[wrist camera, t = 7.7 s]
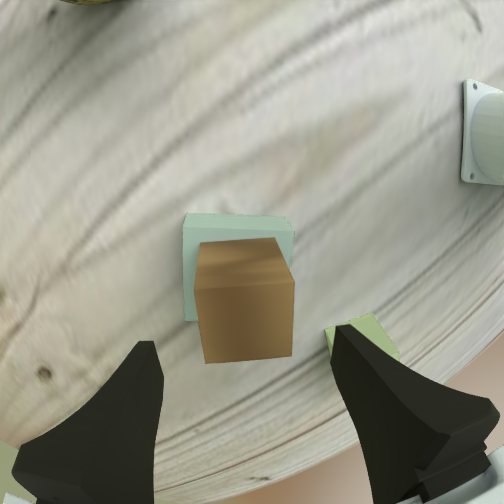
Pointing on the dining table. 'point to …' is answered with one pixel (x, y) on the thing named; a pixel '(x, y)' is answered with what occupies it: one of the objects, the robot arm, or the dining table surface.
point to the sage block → (367, 334)
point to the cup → (87, 2)
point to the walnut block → (244, 300)
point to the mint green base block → (224, 229)
